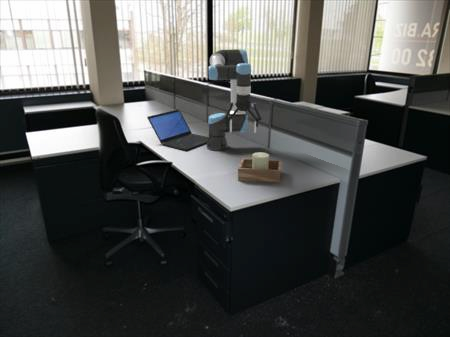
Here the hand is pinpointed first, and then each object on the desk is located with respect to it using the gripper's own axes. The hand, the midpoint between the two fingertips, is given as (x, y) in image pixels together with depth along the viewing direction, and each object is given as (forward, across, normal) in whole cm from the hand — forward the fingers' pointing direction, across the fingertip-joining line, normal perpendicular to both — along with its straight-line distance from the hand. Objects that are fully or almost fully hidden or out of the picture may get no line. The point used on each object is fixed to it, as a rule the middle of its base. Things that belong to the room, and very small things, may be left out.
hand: (242, 131), depth 194 cm
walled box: (+23, +11, -8) cm, 26 cm away
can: (+22, +11, -8) cm, 26 cm away
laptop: (+26, -50, +52) cm, 76 cm away
